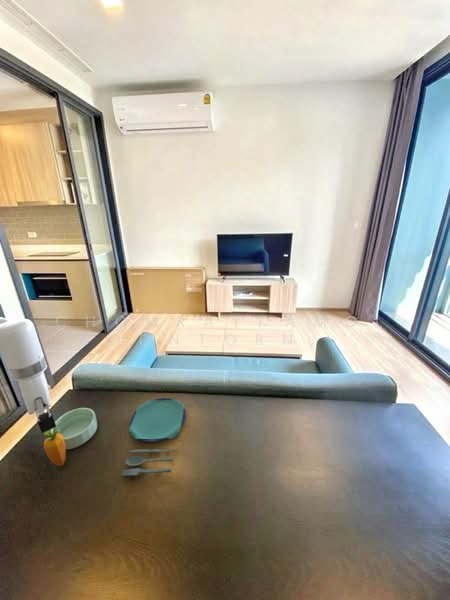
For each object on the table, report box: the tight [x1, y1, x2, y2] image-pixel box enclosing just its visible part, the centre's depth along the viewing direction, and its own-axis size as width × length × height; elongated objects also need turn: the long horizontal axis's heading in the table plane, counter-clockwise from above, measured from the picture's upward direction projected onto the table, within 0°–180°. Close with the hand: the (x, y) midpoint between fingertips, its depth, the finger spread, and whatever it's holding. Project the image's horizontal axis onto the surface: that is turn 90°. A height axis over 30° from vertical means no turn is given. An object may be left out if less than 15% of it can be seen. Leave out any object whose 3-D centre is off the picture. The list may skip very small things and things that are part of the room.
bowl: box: [49, 407, 98, 450], centre depth 86 cm, size 13×13×5 cm
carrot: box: [43, 424, 67, 467], centre depth 73 cm, size 5×5×15 cm
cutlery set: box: [121, 397, 187, 477], centre depth 86 cm, size 20×30×2 cm, turn 1°
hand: (46, 418), depth 69 cm, fingers open, 9 cm apart
